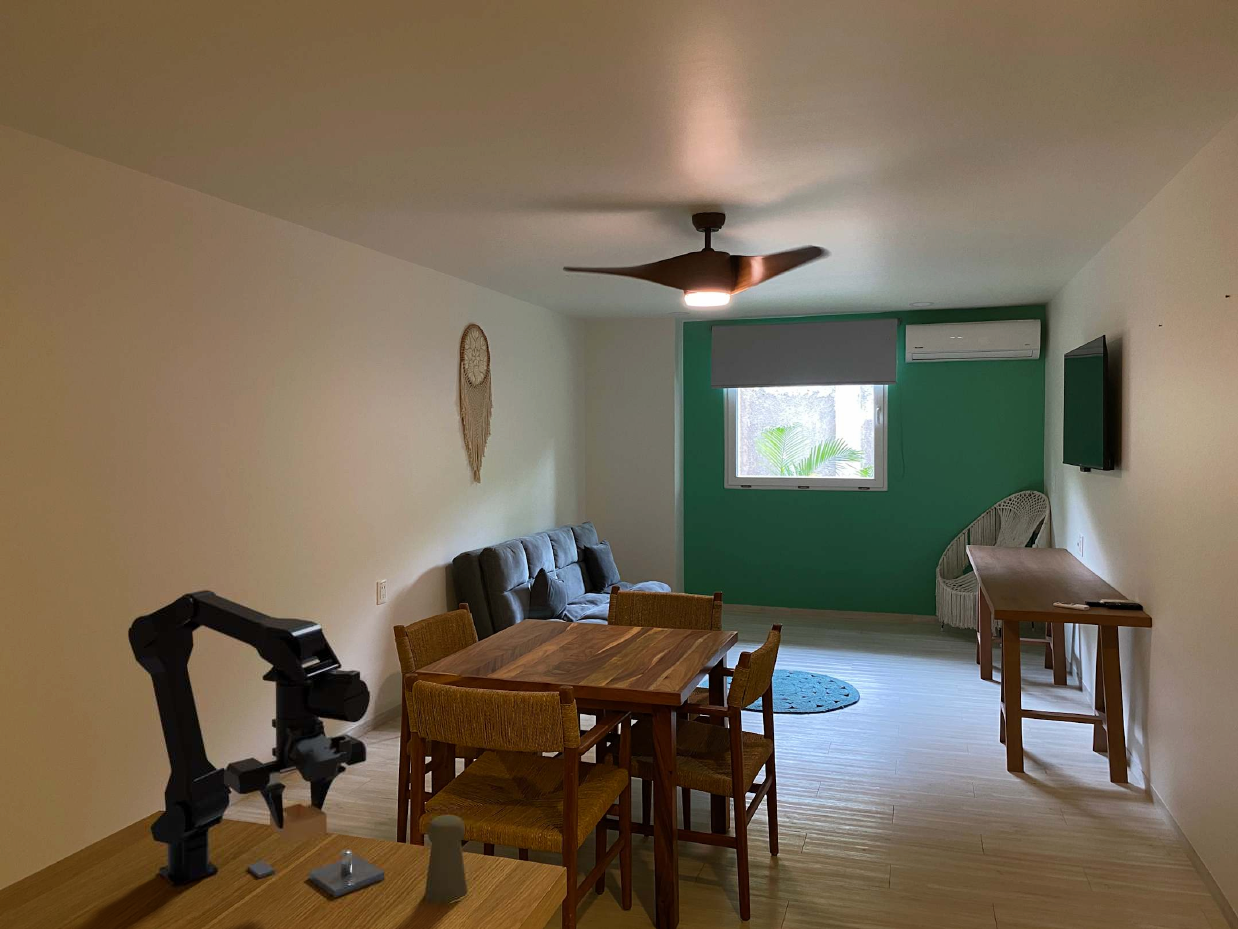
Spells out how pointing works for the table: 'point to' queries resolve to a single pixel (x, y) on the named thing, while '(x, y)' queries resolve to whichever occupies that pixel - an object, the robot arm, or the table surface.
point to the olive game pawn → (445, 860)
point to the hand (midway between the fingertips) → (298, 822)
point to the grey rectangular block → (261, 869)
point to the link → (301, 822)
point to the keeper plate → (346, 874)
